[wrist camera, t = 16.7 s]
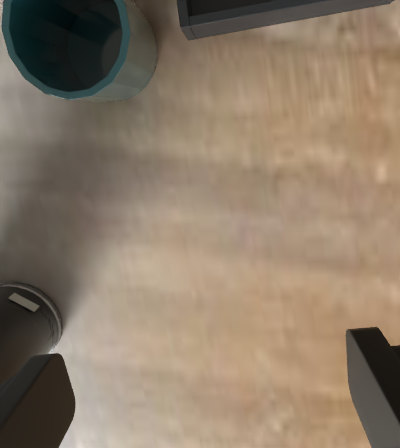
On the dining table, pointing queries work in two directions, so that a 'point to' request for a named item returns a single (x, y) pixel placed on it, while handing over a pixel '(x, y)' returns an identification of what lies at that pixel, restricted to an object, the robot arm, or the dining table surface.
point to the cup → (81, 47)
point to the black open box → (256, 13)
